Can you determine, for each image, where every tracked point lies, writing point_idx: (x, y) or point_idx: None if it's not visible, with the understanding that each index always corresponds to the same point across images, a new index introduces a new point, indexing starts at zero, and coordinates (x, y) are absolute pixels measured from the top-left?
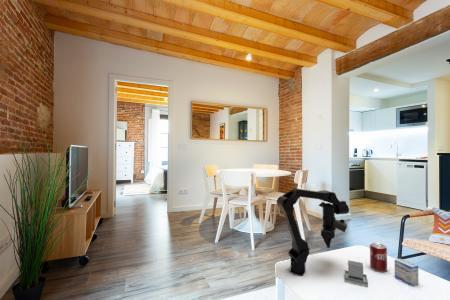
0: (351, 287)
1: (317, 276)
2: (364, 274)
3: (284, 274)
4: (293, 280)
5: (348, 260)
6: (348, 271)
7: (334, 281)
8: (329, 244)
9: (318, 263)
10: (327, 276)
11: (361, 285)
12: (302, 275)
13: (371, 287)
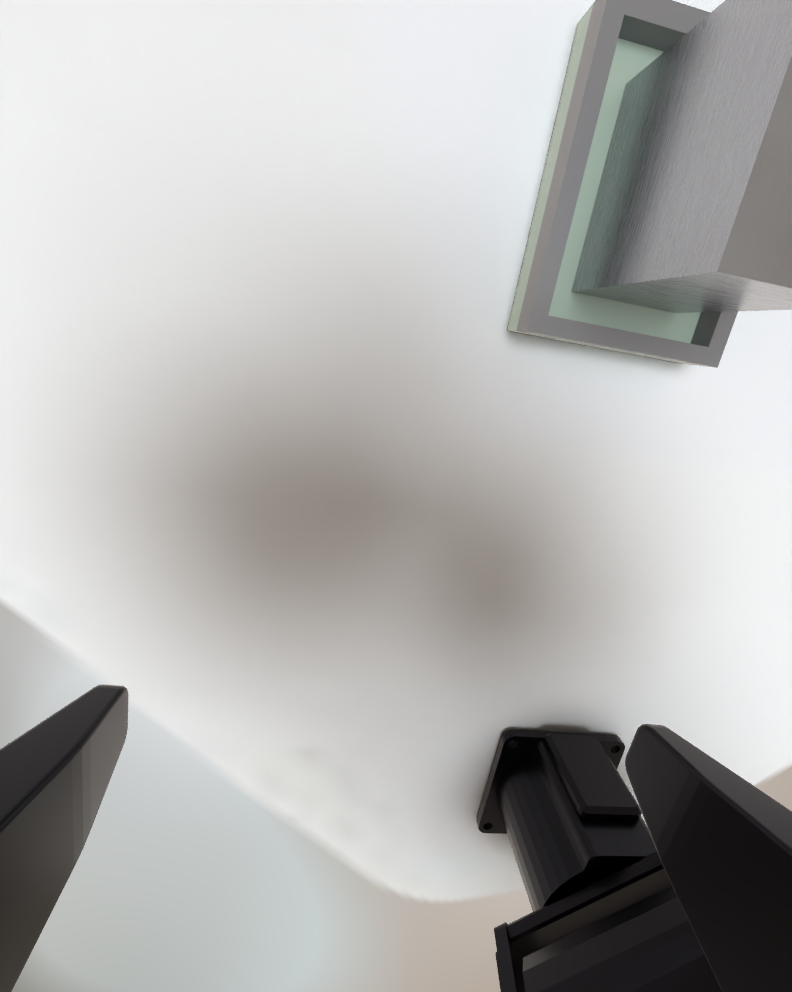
0: None
1: (606, 623)
2: (606, 18)
3: None
4: None
5: (729, 266)
6: (750, 310)
7: (680, 473)
8: (786, 829)
9: (309, 610)
10: (591, 533)
11: None
12: (620, 741)
13: None
